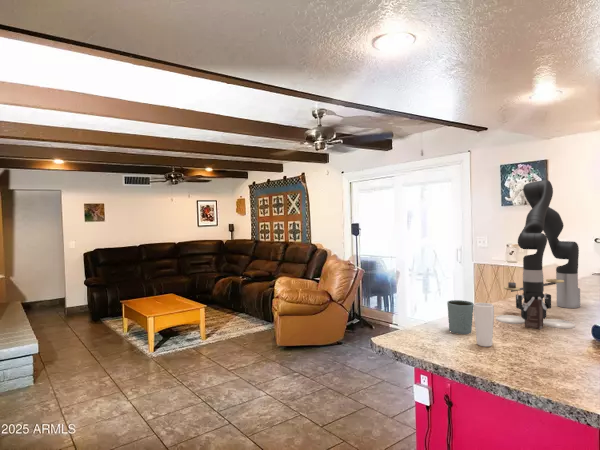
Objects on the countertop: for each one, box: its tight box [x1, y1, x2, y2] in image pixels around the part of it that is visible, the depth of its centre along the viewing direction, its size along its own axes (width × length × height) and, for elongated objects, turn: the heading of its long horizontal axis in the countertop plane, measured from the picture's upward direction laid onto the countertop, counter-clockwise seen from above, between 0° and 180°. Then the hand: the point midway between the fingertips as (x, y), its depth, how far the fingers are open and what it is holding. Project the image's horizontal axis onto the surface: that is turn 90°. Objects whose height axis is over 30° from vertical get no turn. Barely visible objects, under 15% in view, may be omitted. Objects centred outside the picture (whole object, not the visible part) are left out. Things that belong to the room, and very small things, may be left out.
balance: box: [503, 278, 564, 293], centre depth 187 cm, size 24×7×17 cm, turn 60°
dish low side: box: [495, 314, 525, 325], centre depth 179 cm, size 12×12×1 cm
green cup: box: [446, 299, 475, 335], centre depth 164 cm, size 10×10×12 cm
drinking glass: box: [473, 302, 495, 348], centre depth 146 cm, size 7×7×15 cm
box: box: [523, 298, 544, 330], centre depth 168 cm, size 6×4×12 cm
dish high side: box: [543, 318, 576, 329], centre depth 170 cm, size 12×12×1 cm
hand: (533, 318), depth 168 cm, fingers open, 7 cm apart
